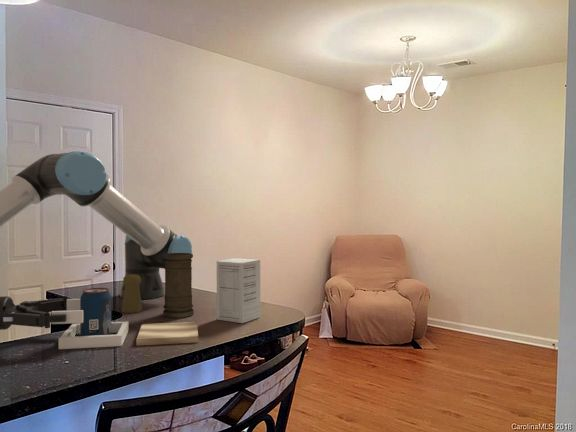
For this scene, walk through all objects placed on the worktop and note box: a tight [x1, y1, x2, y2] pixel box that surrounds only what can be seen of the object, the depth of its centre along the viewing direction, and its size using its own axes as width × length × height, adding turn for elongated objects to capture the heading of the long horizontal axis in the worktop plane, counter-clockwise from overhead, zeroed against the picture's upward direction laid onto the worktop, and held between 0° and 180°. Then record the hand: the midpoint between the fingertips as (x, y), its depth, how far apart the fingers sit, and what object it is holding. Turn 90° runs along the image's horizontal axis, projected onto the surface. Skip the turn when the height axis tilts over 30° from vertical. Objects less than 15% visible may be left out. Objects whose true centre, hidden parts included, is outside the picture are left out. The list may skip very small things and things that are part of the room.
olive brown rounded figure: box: [121, 274, 143, 314], centre depth 145 cm, size 6×6×11 cm
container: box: [162, 253, 195, 319], centre depth 140 cm, size 9×9×18 cm
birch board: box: [136, 321, 199, 346], centre depth 118 cm, size 14×14×2 cm
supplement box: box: [216, 257, 262, 324], centre depth 136 cm, size 10×9×17 cm
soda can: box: [79, 287, 112, 336], centre depth 114 cm, size 7×7×12 cm
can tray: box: [58, 320, 130, 350], centre depth 114 cm, size 13×13×2 cm
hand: (89, 309), depth 113 cm, fingers open, 13 cm apart
